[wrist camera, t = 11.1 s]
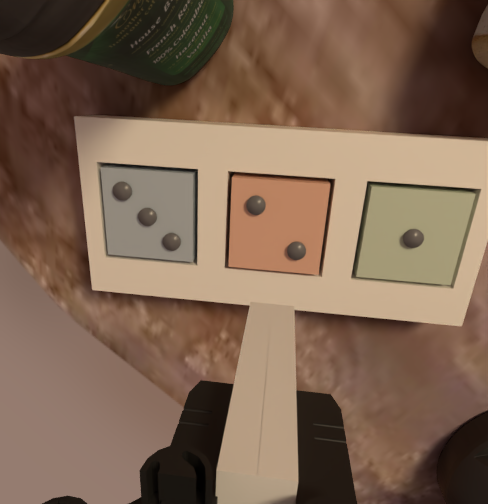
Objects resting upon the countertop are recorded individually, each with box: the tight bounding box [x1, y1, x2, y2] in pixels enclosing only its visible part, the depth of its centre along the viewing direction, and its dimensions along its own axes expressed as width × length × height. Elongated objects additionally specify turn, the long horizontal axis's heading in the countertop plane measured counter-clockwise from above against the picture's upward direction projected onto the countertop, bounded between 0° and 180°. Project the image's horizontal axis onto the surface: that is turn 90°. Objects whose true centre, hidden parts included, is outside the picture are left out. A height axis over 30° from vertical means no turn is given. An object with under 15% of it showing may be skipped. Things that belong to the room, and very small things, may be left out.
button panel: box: [74, 115, 488, 326], centre depth 26 cm, size 12×26×3 cm, turn 87°
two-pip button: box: [228, 172, 331, 275], centre depth 26 cm, size 6×6×3 cm
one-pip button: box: [353, 181, 476, 285], centre depth 25 cm, size 6×6×3 cm
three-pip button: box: [101, 163, 198, 262], centre depth 27 cm, size 6×6×3 cm
